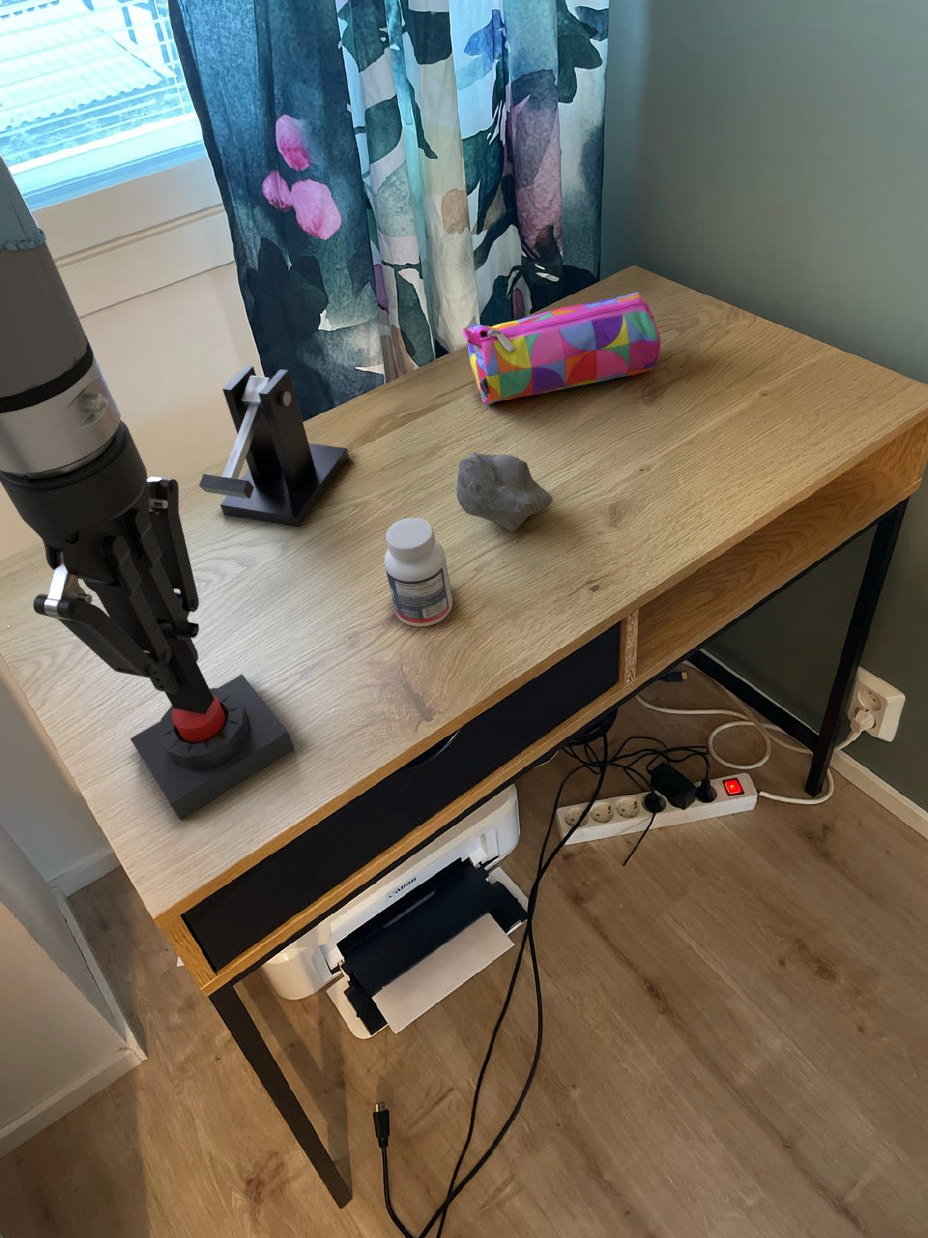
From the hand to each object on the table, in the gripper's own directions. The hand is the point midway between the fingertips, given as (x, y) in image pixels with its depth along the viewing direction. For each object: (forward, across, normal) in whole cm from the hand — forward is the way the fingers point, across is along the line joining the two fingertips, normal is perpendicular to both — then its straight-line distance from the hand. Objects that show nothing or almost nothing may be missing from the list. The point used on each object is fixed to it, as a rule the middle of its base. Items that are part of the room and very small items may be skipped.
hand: (193, 703), depth 67 cm
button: (+2, 0, 0) cm, 2 cm away
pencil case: (+7, +57, -15) cm, 59 cm away
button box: (+6, 0, 0) cm, 6 cm away
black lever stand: (+6, +33, +9) cm, 35 cm away
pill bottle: (+6, +19, -11) cm, 23 cm away
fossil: (+6, +32, -15) cm, 36 cm away
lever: (-2, +30, +10) cm, 31 cm away
